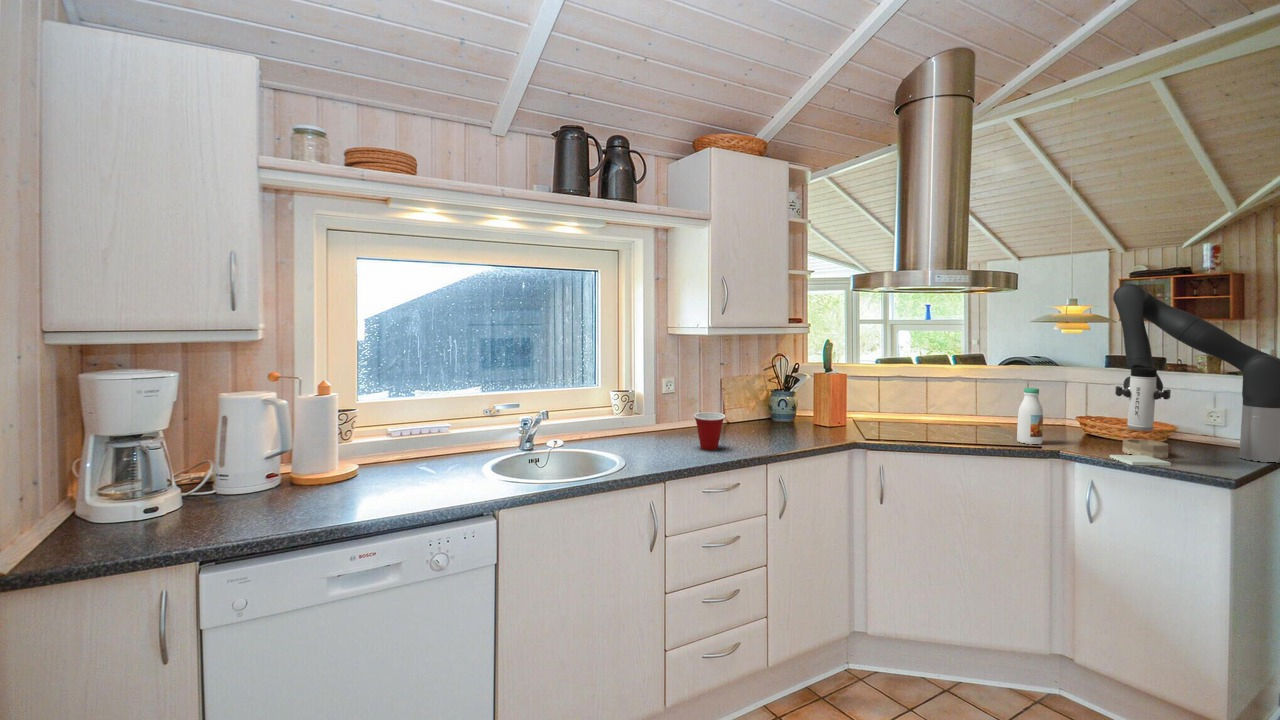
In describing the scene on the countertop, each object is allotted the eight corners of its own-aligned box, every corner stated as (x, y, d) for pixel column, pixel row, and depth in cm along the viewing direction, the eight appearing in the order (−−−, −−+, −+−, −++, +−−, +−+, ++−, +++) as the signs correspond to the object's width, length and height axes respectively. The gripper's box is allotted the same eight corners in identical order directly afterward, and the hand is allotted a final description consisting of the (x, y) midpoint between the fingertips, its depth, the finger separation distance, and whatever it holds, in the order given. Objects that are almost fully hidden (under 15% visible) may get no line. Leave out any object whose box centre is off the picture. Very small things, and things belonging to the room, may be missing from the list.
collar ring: (1150, 450, 205) (1150, 439, 205) (1176, 458, 194) (1177, 446, 194) (1114, 450, 206) (1115, 438, 206) (1139, 457, 195) (1139, 445, 195)
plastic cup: (694, 452, 202) (694, 416, 202) (692, 445, 213) (692, 411, 213) (726, 452, 202) (727, 416, 201) (723, 445, 213) (723, 412, 212)
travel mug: (1142, 427, 192) (1146, 364, 190) (1158, 431, 185) (1162, 366, 183) (1121, 426, 192) (1125, 364, 191) (1136, 431, 186) (1140, 366, 184)
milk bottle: (1020, 444, 216) (1022, 389, 215) (1014, 440, 223) (1016, 386, 222) (1045, 445, 214) (1047, 389, 212) (1037, 441, 221) (1040, 387, 220)
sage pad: (1146, 458, 193) (1146, 455, 193) (1170, 465, 184) (1170, 462, 183) (1109, 457, 194) (1109, 454, 194) (1132, 465, 184) (1132, 461, 184)
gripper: (1115, 377, 203) (1113, 381, 190) (1172, 380, 194) (1174, 384, 181) (1114, 399, 204) (1111, 404, 191) (1170, 403, 194) (1172, 409, 182)
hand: (1142, 395), depth 186 cm, fingers closed on travel mug, 6 cm apart
